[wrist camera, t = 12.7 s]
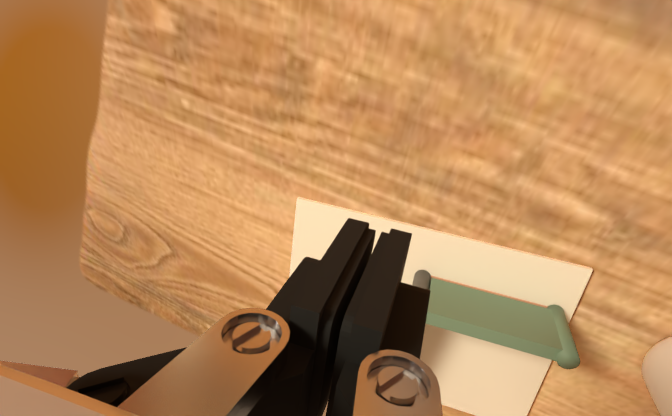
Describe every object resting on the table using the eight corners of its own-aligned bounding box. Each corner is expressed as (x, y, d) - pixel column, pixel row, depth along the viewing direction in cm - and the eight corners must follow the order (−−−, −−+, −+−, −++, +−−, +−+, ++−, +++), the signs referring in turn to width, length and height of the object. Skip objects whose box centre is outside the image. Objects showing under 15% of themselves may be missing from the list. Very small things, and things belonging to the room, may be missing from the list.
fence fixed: (565, 304, 38) (583, 356, 32) (559, 318, 39) (575, 371, 33) (416, 265, 41) (407, 306, 35) (413, 279, 42) (403, 321, 36)
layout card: (591, 267, 36) (593, 270, 36) (519, 426, 45) (520, 430, 44) (298, 196, 42) (296, 198, 42) (283, 349, 50) (281, 352, 50)
